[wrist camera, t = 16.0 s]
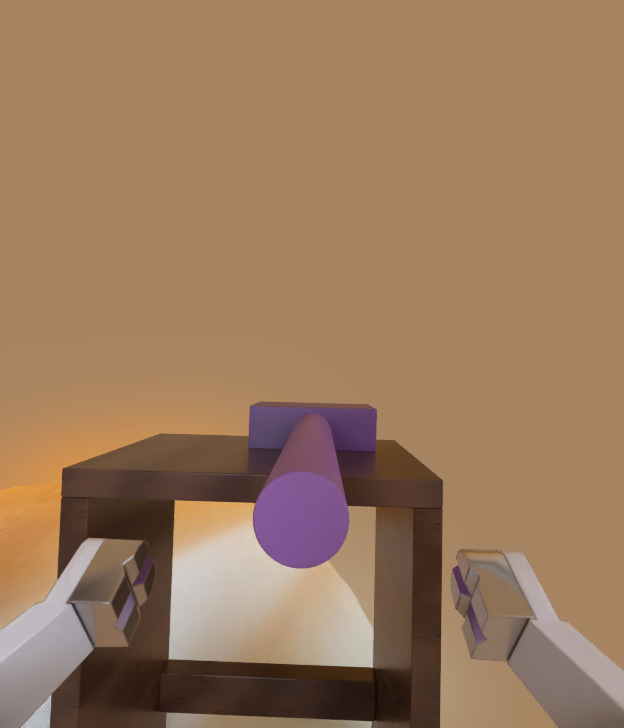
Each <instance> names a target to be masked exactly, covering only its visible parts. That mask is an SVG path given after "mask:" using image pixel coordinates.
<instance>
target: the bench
mask: <svg viewBox="0 0 624 728" xmlns="http://www.w3.org/2000/svg"><path fill="white" fill-rule="evenodd" d="M282 450H283V449H260V448H249V436H226V435H190V434H158V435H156V436H153V437H150V438H147V439H144V440H142V441H139V442H136V443H133V444H130V445H128V446H125V447H122V448H119V449H117V450H113V451H111V452H108V453H105V454H103V455H100V456H97V457H94V458H91V459H88V460H85V461H83V462H80V463H77V464H74V465H72V466H69V467H66V468H63V472H62V492H61V496H62V498H61V515H60V535H59V555H58V575H57V580H58V579H59V577H60V576H61V574H62V573H63V571H64V570H65V568H66V567H67V565H68V564H69V562H70V560H71V559H72V557H73V556H74V554H75V553H76V551H77V550H78V548H79V547H80V545H81V544H82V543H83V542H84V541H85V540H87V539H88V538H104V539H122V540H145V541H148V543H149V546H150V548H151V549H150V551H149V553H148V556H150V557H151V558H152V559H154V562H155V565H156V575H155V580H154V585H153V588H152V591H151V594H150V596H149V599H148V600H147V601H145V602H144V603H143V604H142V605H141V606H140V607H139V612H140V616H141V618H140V621H139V623H138V625H137V628H136V630H135V633H134V635H133V637H132V640H131V642H130V645H129V647H93V648H94V650H93V651H92V652H91V653H90V654H89V655H88V656H87V657H86V658H85V659H84V660H83V661H82V662H81V663H80V664H79V666H78V667H77V668H76V669H75V670H74V671H73V672H72V673H71V674H70V675H69V676H68V677H67V678H66V679H65V680H64V682H63V683H62V684H61V685H60V686H59V687H58V688H57V689H56V690H55V691H54V692H53V693H52V695H51V715H50V728H166V712H169V713H192V714H215V715H238V716H261V717H284V718H308V719H331V720H354V721H372V728H440V672H441V592H442V590H441V589H442V513H443V511H442V507H443V506H442V505H443V480H442V479H441V478H439V477H438V476H437V475H436V474H435V473H433V472H432V471H431V470H430V469H429V468H427V467H426V466H425V465H424V464H422V463H421V462H420V461H419V460H417V459H416V458H415V457H414V456H413V455H412V454H410V453H409V452H408V451H407V450H406V449H404V448H403V447H402V446H401V445H399V444H398V443H397V442H396V441H395V440H376V452H360V451H336V456H337V460H338V465H339V470H340V474H341V479H342V484H343V488H344V493H345V498H346V502H347V506H370V507H376V536H375V588H374V589H375V590H374V640H373V668H369V667H344V666H319V665H294V664H270V663H245V662H220V661H196V660H171V659H169V634H170V608H171V582H172V557H173V531H174V505H175V500H184V501H215V502H246V503H256V501H257V498H258V496H259V495H260V493H261V491H262V489H263V487H264V485H265V483H266V481H267V479H268V477H269V475H270V473H271V471H272V469H273V467H274V465H275V463H276V461H277V459H278V458H279V456H280V454H281V452H282Z"/></svg>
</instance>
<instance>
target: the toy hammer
mask: <svg viewBox="0 0 624 728" xmlns="http://www.w3.org/2000/svg"><path fill="white" fill-rule="evenodd" d="M249 420H250V421H249V448H260V449H283V450H282V452H281V454H280V456H279V458H278V459H277V461H276V463H275V465H274V467H273V469H272V471H271V473H270V475H269V477H268V479H267V481H266V483H265V485H264V487H263V489H262V491H261V493H260V495H259V496H258V498H257V501H256V504H255V507H254V512H253V526H254V531H255V535H256V538H257V540H258V542H259V544H260V545H261V547H262V548H263V550H264V551H265V552H266V553H267V554H268V555H269V556H270V557H271V558H272V559H274V560H275V561H277V562H278V563H280V564H282V565H285V566H288V567H292V568H311V567H315V566H318V565H320V564H322V563H324V562H326V561H327V560H329V559H330V558H331V557H332V556H334V555H335V554H336V553H337V552H338V550H339V549H340V547H341V546H342V544H343V543H344V540H345V538H346V535H347V532H348V527H349V512H348V507H347V502H346V498H345V493H344V488H343V484H342V479H341V474H340V470H339V465H338V460H337V456H336V451H360V452H376V421H377V410H376V409H375V408H373V407H371V406H369V405H365V404H363V405H362V404H326V403H292V402H259V403H256V404H254V405H251V406H250V418H249Z"/></svg>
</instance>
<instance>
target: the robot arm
mask: <svg viewBox="0 0 624 728" xmlns="http://www.w3.org/2000/svg"><path fill="white" fill-rule="evenodd" d="M150 549H151V548H150V546H149V543H148V541H145V540H122V539H104V538H88V539H87V540H85V541H84V542H83V543H82V544H81V545H80V547H79V548H78V550H77V551H76V553H75V554H74V556H73V557H72V559H71V560H70V562H69V564H68V565H67V567H66V568H65V570H64V571H63V573H62V574H61V576H60V577H59V579H58V580H57V582H56V583H55V585H54V586H53V588H52V589H51V591H50V592H49V594H48V596H47V597H46V599H45V600H44V602H43V603H36V604H34V605H33V606H32V607H30V608H29V609H28V610H26V611H25V612H24V613H22V614H21V615H20V616H18V617H17V618H16V619H14V620H13V621H12V622H10V623H9V624H8V625H6V626H5V627H4V628H2V629H1V630H0V728H20V727H21V726H22V725H23V724H24V723H25V722H26V721H27V720H28V719H29V718H30V717H31V716H32V715H33V713H34V712H35V711H36V710H37V709H38V708H39V707H40V706H41V705H42V704H43V703H44V702H45V701H46V700H47V699H48V697H49V696H50V695H51V694H52V693H53V692H54V691H55V690H56V689H57V688H58V687H59V686H60V685H61V684H62V683H63V682H64V680H65V679H66V678H67V677H68V676H69V675H70V674H71V673H72V672H73V671H74V670H75V669H76V668H77V667H78V666H79V664H80V663H81V662H82V661H83V660H84V659H85V658H86V657H87V656H88V655H89V654H90V653H91V652H92V651H93V650H94V648H93V647H129V645H130V642H131V640H132V637H133V635H134V633H135V630H136V628H137V625H138V623H139V621H140V618H141V616H140V612H139V607H140V606H141V605H142V604H143V603H144V602H145V601H147V600H148V599H149V596H150V594H151V591H152V588H153V585H154V580H155V575H156V565H155V562H154V559H152V558H151V557H150V556H148V553H149V551H150ZM456 560H457V563H458V565H457V566H456V567H455V568H453V569H452V574H451V592H452V597H453V601H454V604H455V608H456V610H457V611H458V612H459V613H460V614H461V615H462V616H463V617H464V618H465V620H464V623H463V626H462V631H463V634H464V637H465V640H466V644H467V647H468V650H469V653H470V656H471V659H476V660H492V661H507V662H508V663H507V664H508V665H509V666H510V668H511V669H512V670H513V672H514V673H515V674H516V675H517V677H518V678H519V679H520V680H521V682H522V683H523V684H524V685H525V686H526V688H527V689H528V690H529V691H530V693H531V694H532V695H533V696H534V698H535V699H536V700H537V701H538V703H539V704H540V705H541V706H542V708H543V709H544V710H545V711H546V713H547V714H548V715H549V716H550V717H551V719H552V720H553V721H554V723H555V724H556V725H557V726H558V727H559V728H624V671H623V670H622V669H621V668H619V667H618V666H617V665H616V664H615V663H614V662H613V661H612V660H610V659H609V658H608V657H607V656H606V655H604V653H602V652H601V651H600V650H599V649H598V648H597V647H596V646H594V645H593V644H592V643H591V642H590V641H589V640H588V639H587V638H585V637H584V636H583V635H582V634H581V633H580V632H579V631H577V630H576V629H575V628H574V627H573V626H572V625H571V624H569V623H568V622H567V621H565V620H559V618H558V616H557V615H556V613H555V611H554V609H553V607H552V605H551V603H550V601H549V600H548V598H547V596H546V595H545V592H544V590H543V588H542V586H541V585H540V583H539V581H538V579H537V577H536V575H535V573H534V572H533V570H532V568H531V566H530V564H529V562H528V560H527V559H526V557H525V555H524V554H523V553H522V552H520V551H499V550H470V549H469V550H468V549H461V550H460V551H458V553H457V556H456Z"/></svg>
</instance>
